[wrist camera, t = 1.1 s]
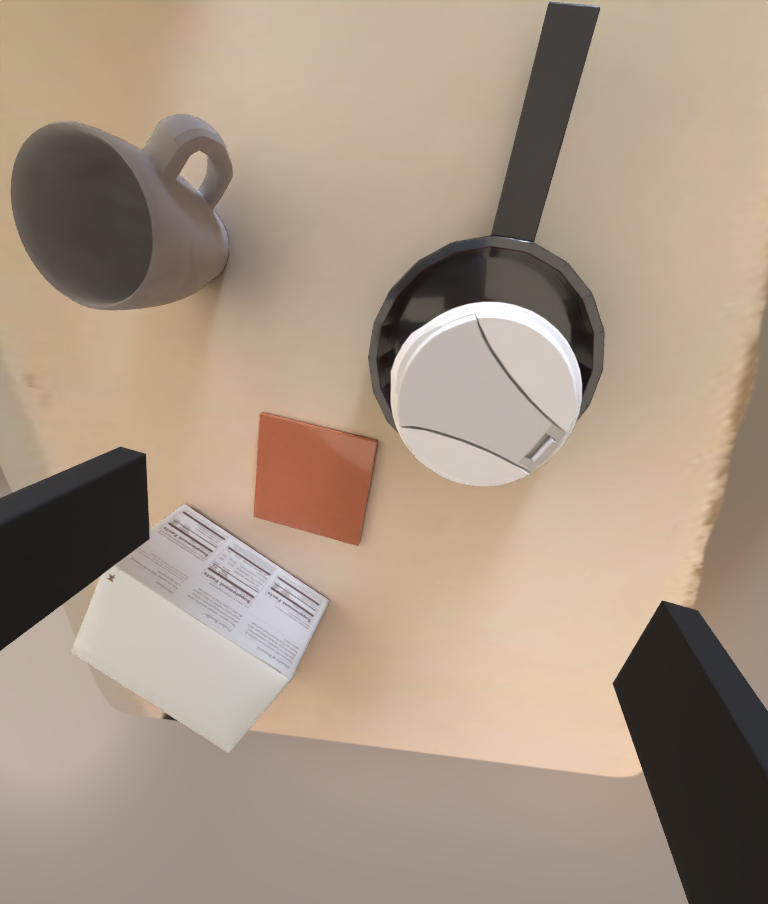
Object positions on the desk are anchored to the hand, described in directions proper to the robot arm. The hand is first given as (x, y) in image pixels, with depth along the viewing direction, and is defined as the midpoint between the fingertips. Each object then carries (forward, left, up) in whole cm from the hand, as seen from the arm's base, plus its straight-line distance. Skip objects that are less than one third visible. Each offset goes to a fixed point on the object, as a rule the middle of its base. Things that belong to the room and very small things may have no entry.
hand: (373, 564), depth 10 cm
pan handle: (-15, +2, -19) cm, 24 cm away
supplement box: (+25, -16, -22) cm, 37 cm away
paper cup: (-3, +2, -22) cm, 22 cm away
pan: (-3, +2, -22) cm, 22 cm away
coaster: (+10, -9, -22) cm, 26 cm away
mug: (-8, -19, -22) cm, 30 cm away
